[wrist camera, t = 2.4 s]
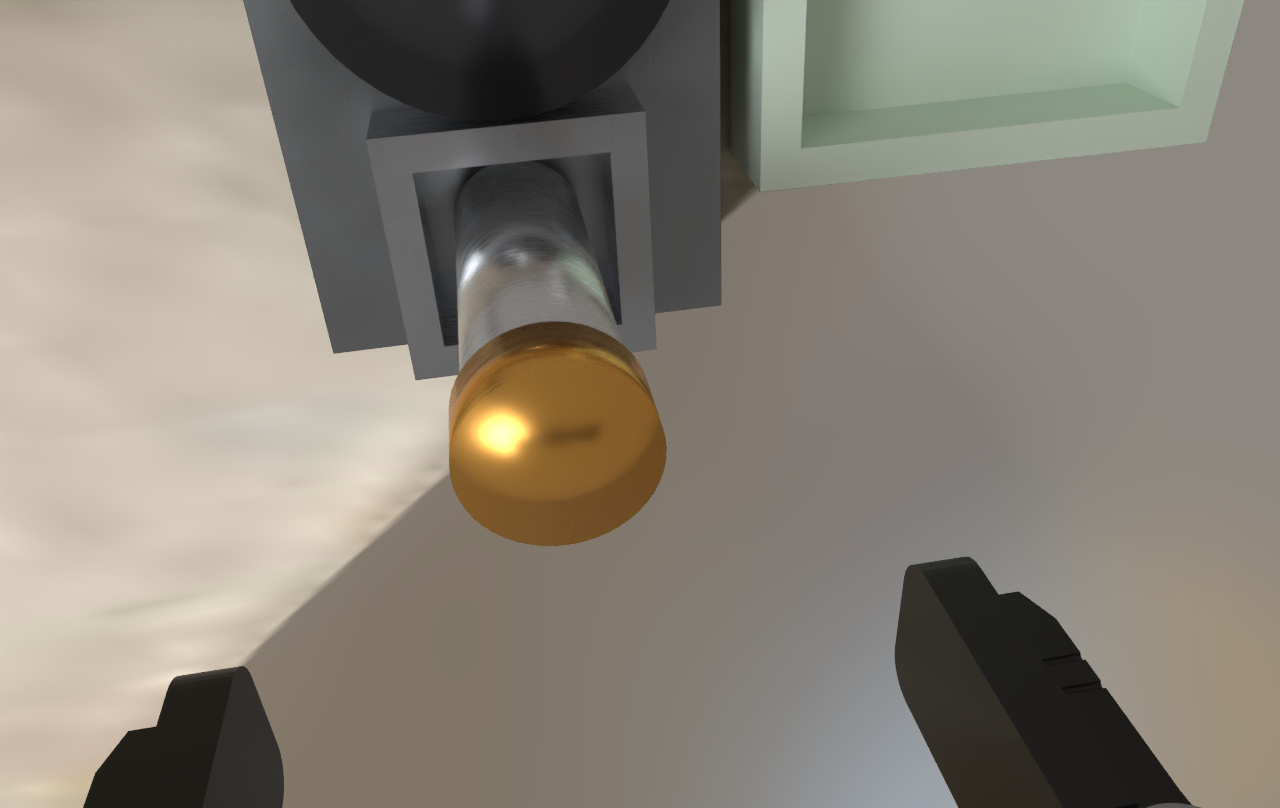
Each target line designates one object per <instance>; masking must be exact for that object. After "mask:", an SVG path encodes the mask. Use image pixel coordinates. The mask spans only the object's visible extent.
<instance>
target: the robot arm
mask: <svg viewBox="0 0 1280 808" xmlns="http://www.w3.org/2000/svg"><path fill="white" fill-rule="evenodd" d="M895 665H896V671H897V676H898V681H899V684H900V687H901V691H902V693H903V696H904V698H905V701H906V703H907V705H908V707H909V709H910V711H911V713H912V715H913V717H914V719H915V721H916V723H917V725H918V727H919V729H920V731H921V733H922V735H923V737H924V739H925V741H926V743H927V745H928V747H929V749H930V751H931V753H932V755H933V757H934V759H935V761H936V763H937V765H938V767H939V769H940V771H941V773H942V775H943V777H944V779H945V782H946V784H947V786H948V787H949V789H950V792H951V793H952V795H953V798H954V799H955V801H956V804H957V806H958V808H1200V807H1196V806H1193V805H1192V804H1191V803H1190V802H1189V801H1188V800H1187V799H1186V797H1185V796H1184V795H1183V794H1182V792H1181V791H1180V790H1179V788H1178V787H1177V786H1176V784H1175V783H1174V782H1173V780H1172V779H1171V777H1170V776H1169V775H1168V773H1167V772H1166V771H1165V769H1164V768H1163V766H1162V765H1161V764H1160V762H1159V761H1158V759H1157V758H1156V757H1155V755H1154V754H1153V753H1152V751H1151V750H1150V748H1149V747H1148V745H1147V744H1146V743H1145V741H1144V740H1143V739H1142V737H1141V736H1140V735H1139V733H1138V732H1137V730H1136V729H1135V727H1134V726H1133V725H1132V723H1131V722H1130V721H1129V719H1128V718H1127V716H1126V715H1125V714H1124V712H1123V711H1122V710H1121V708H1120V707H1119V705H1118V704H1117V703H1116V701H1115V700H1114V698H1113V697H1112V696H1111V695H1110V693H1109V692H1108V690H1107V689H1106V688H1102V686H1101V681H1100V679H1099V678H1098V676H1097V675H1096V674H1095V672H1094V671H1093V669H1092V668H1091V667H1090V665H1089V664H1088V662H1087V661H1086V660H1082V658H1081V655H1080V652H1079V650H1078V649H1077V647H1076V646H1075V644H1074V643H1073V642H1072V640H1071V639H1070V638H1069V636H1068V635H1067V633H1066V632H1065V631H1064V629H1063V628H1062V627H1061V625H1060V624H1059V622H1058V621H1057V620H1056V619H1055V618H1054V617H1053V616H1051V615H1050V614H1049V613H1047V612H1046V611H1045V610H1043V609H1042V608H1041V607H1039V606H1038V605H1036V604H1035V603H1034V602H1032V601H1031V600H1030V599H1028V598H1027V597H1025V596H1024V595H1023V594H1021V593H1020V592H1013V593H1006V594H1000V595H998V593H997V592H996V590H995V589H994V587H993V586H992V585H991V583H990V582H989V580H988V578H987V577H986V575H985V574H984V572H983V571H982V569H981V568H980V567H979V565H978V564H977V563H976V562H975V561H974V560H973V559H972V558H970V557H960V558H954V559H948V560H941V561H934V562H929V563H922V564H916V565H910V566H909V567H908V568H907V570H906V572H905V576H904V583H903V590H902V598H901V606H900V613H899V622H898V629H897V637H896V644H895ZM283 795H284V776H283V765H282V759H281V754H280V750H279V747H278V745H277V742H276V739H275V737H274V734H273V731H272V729H271V726H270V723H269V721H268V718H267V716H266V713H265V710H264V708H263V705H262V703H261V700H260V697H259V695H258V692H257V690H256V687H255V685H254V682H253V679H252V677H251V675H250V672H249V671H248V669H247V668H245V667H244V666H240V667H234V668H227V669H221V670H214V671H208V672H201V673H195V674H188V675H182V676H177V677H175V678H174V679H173V680H172V681H171V683H170V685H169V688H168V690H167V693H166V697H165V700H164V703H163V706H162V710H161V713H160V716H159V719H158V723H157V726H156V727H151V728H145V729H139V730H132V731H128V732H127V734H126V735H125V736H124V737H123V739H122V740H121V741H120V742H119V744H118V745H117V746H116V748H115V749H114V750H113V751H112V753H111V754H110V755H109V756H108V758H107V759H106V760H105V762H104V763H103V764H102V765H101V767H100V768H99V769H98V770H97V772H96V773H95V776H94V778H93V781H92V784H91V787H90V790H89V793H88V795H87V798H86V801H85V804H84V807H83V808H282V805H283Z"/></svg>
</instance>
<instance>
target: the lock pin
mask: <svg viewBox="0 0 1280 808" xmlns="http://www.w3.org/2000/svg"><path fill="white" fill-rule="evenodd" d="M455 245H456V276H457V307H458V338H459V368H460V373H459V375H458V376H457V378H456V380H455V383H454V386H453V388H452V391H451V396H450V401H449V467H450V476H451V481H452V484H453V488H454V490H455V492H456V495H457V497H458V499H459V501H460V502H461V503H462V505H463V506H464V508H465V509H466V510H467V512H469V514H470V515H471V516H472V517H473V518H474V519H475V520H476V521H478V522H479V523H480V524H481V525H482V526H484V527H486V528H487V529H489V530H490V531H492V532H494V533H496V534H498V535H500V536H502V537H505V538H507V539H510V540H514V541H516V542H521V543H526V544H531V545H541V546H558V545H569V544H574V543H579V542H584V541H587V540H590V539H593V538H596V537H599V536H600V535H603V534H606V533H608V532H610V531H612V530H613V529H615V528H617V527H619V526H621V525H622V524H623V523H625V522H626V521H628V520H629V519H630V518H631V517H632V516H634V515H635V514H636V513H637V512H638V511H639V510H640V509H641V508H642V507H643V506H644V505H645V504H646V503H647V502H648V500H649V499H650V497H651V496H652V495H653V493H654V492H655V490H656V488H657V486H658V484H659V482H660V479H661V477H662V474H663V471H664V467H665V462H666V448H667V447H666V439H665V434H664V430H663V427H662V424H661V421H660V418H659V415H658V412H657V409H656V406H655V403H654V400H653V397H652V394H651V391H650V388H649V385H648V382H647V379H646V377H645V374H644V372H643V370H642V368H641V366H640V364H639V363H638V361H637V360H636V358H635V357H634V355H632V353H631V352H630V351H629V350H628V349H627V348H626V347H625V346H624V345H623V343H622V340H621V337H620V334H619V330H618V327H617V324H616V321H615V318H614V315H613V311H612V308H611V305H610V302H609V299H608V296H607V292H606V289H605V286H604V283H603V280H602V277H601V274H600V270H599V267H598V264H597V261H596V258H595V255H594V251H593V248H592V245H591V242H590V239H589V236H588V233H587V229H586V226H585V223H584V220H583V217H582V214H581V210H580V207H579V204H578V201H577V198H576V196H575V193H574V191H573V190H572V188H571V186H570V185H569V183H568V182H567V181H566V180H565V179H564V178H563V177H562V176H561V175H560V174H559V173H558V172H556V171H555V170H554V169H552V168H550V167H549V166H547V165H545V164H542V163H539V162H537V161H533V160H532V161H523V162H513V163H504V164H494V165H488V166H486V167H485V168H483V169H481V170H480V171H478V172H477V173H476V174H475V175H474V176H472V178H471V179H470V180H469V181H468V182H467V183H466V185H465V186H464V188H463V189H462V191H461V193H460V195H459V197H458V200H457V203H456V209H455Z"/></svg>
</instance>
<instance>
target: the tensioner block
mask: <svg viewBox="0 0 1280 808" xmlns="http://www.w3.org/2000/svg"><path fill="white" fill-rule="evenodd" d="M243 1H244V5H245V9H246V13H247V17H248V21H249V25H250V29H251V33H252V36H253V40H254V44H255V48H256V52H257V56H258V60H259V64H260V68H261V72H262V76H263V79H264V83H265V87H266V91H267V95H268V99H269V103H270V107H271V111H272V115H273V119H274V122H275V126H276V130H277V134H278V138H279V142H280V146H281V150H282V154H283V158H284V162H285V165H286V169H287V173H288V177H289V181H290V185H291V189H292V193H293V197H294V201H295V205H296V208H297V212H298V216H299V220H300V224H301V228H302V232H303V236H304V240H305V244H306V248H307V251H308V255H309V259H310V263H311V267H312V271H313V275H314V279H315V283H316V287H317V291H318V294H319V298H320V302H321V306H322V310H323V314H324V318H325V322H326V326H327V330H328V334H329V337H330V341H331V345H332V349H333V353H342V352H350V351H358V350H366V349H374V348H382V347H390V346H398V345H406V344H408V346H409V351H410V355H411V360H412V365H413V370H414V375H415V380H422V379H429V378H437V377H445V376H452V375H459V373H460V368H459V338H458V307H457V276H456V245H455V209H456V203H457V200H458V197H459V195H460V193H461V191H462V189H463V188H464V186H465V185H466V183H467V182H468V181H469V180H470V179H471V178H472V176H474V175H475V174H476V173H477V172H478V171H480V170H481V169H483V168H485V167H486V166H488V165H494V164H504V163H513V162H523V161H532V160H533V161H537V162H539V163H542V164H545V165H547V166H549V167H550V168H552V169H554V170H555V171H556V172H558V173H559V174H560V175H561V176H562V177H563V178H564V179H565V180H566V181H567V182H568V183H569V185H570V186H571V188H572V190H573V191H574V193H575V196H576V198H577V201H578V204H579V207H580V210H581V214H582V217H583V220H584V223H585V226H586V229H587V233H588V236H589V239H590V242H591V245H592V248H593V251H594V255H595V258H596V261H597V264H598V267H599V270H600V274H601V277H602V280H603V283H604V286H605V289H606V292H607V296H608V299H609V302H610V305H611V308H612V311H613V315H614V318H615V321H616V324H617V327H618V330H619V334H620V337H621V340H622V343H623V345H624V346H625V347H626V348H627V349H628V350H629V351H630V352H638V351H646V350H653V349H656V329H655V328H656V327H655V313H662V312H669V311H678V310H686V309H693V308H701V307H710V306H717V305H721V144H720V0H243Z"/></svg>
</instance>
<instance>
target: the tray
mask: <svg viewBox="0 0 1280 808" xmlns="http://www.w3.org/2000/svg"><path fill="white" fill-rule="evenodd" d="M1243 4H1244V0H731V154H732V156H733V157H734V158H735V160H736V161H737V162H738V164H739V165H740V166H741V167H742V169H743V170H744V171H745V173H746V174H747V175H748V177H749V178H750V179H751V181H752V182H753V183H754V185H755V186H756V187H757V189H758V190H759V191H760V192H767V191H776V190H785V189H794V188H803V187H812V186H821V185H830V184H839V183H847V182H856V181H865V180H874V179H883V178H892V177H900V176H910V175H918V174H928V173H936V172H946V171H955V170H963V169H972V168H981V167H990V166H998V165H1008V164H1017V163H1026V162H1035V161H1043V160H1052V159H1061V158H1070V157H1079V156H1088V155H1097V154H1105V153H1114V152H1123V151H1133V150H1141V149H1150V148H1159V147H1168V146H1176V145H1185V144H1194V143H1203V142H1206V141H1207V136H1208V133H1209V129H1210V126H1211V122H1212V119H1213V115H1214V111H1215V107H1216V103H1217V100H1218V96H1219V93H1220V89H1221V85H1222V82H1223V78H1224V74H1225V70H1226V67H1227V63H1228V59H1229V56H1230V52H1231V48H1232V45H1233V41H1234V37H1235V34H1236V30H1237V26H1238V22H1239V19H1240V15H1241V11H1242V8H1243Z"/></svg>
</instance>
